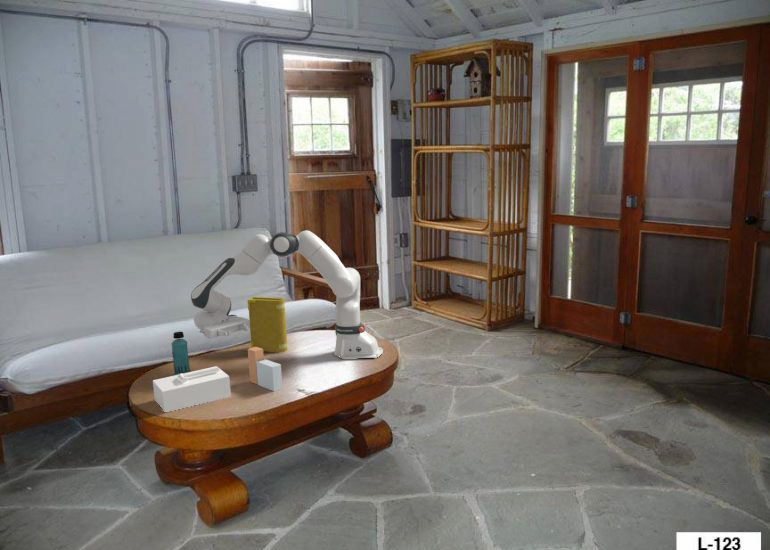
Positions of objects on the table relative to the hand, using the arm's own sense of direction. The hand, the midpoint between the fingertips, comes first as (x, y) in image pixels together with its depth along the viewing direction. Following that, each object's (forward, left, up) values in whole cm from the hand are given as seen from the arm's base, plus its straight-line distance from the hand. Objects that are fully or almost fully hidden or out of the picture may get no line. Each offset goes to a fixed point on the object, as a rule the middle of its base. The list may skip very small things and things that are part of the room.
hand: (237, 331), depth 256 cm
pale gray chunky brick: (-18, +11, -19) cm, 28 cm away
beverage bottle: (+24, +6, -20) cm, 31 cm away
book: (+1, -34, -20) cm, 39 cm away
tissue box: (+7, +26, -20) cm, 34 cm away
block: (-10, +6, -19) cm, 23 cm away
